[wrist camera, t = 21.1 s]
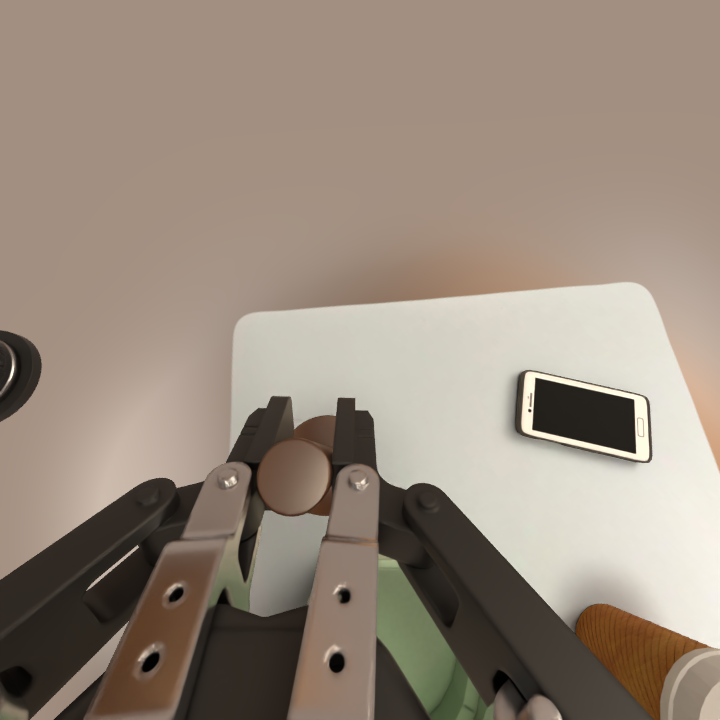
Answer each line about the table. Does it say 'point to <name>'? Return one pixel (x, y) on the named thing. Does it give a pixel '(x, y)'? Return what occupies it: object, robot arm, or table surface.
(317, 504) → the wooden rod on disc
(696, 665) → the disposable coffee cup
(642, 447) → the cell phone
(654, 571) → the table surface
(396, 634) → the mixing bowl
